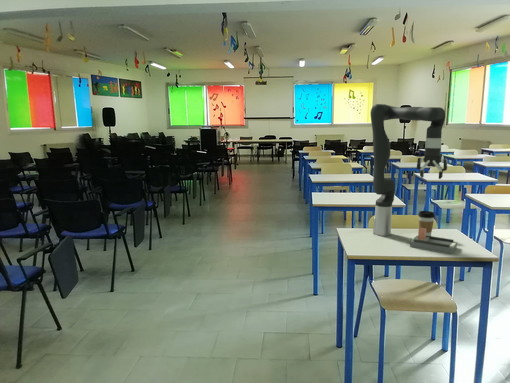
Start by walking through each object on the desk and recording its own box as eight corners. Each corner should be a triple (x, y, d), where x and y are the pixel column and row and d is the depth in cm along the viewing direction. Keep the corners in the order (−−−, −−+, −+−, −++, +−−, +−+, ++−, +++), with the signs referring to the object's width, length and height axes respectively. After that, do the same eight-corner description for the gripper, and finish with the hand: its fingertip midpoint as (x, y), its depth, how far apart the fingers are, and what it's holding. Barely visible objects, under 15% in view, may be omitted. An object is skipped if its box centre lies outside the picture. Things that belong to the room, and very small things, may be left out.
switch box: (410, 246, 204) (410, 239, 203) (416, 241, 213) (416, 233, 212) (451, 254, 192) (452, 246, 191) (456, 247, 201) (457, 239, 200)
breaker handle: (414, 240, 204) (414, 229, 203) (417, 236, 210) (418, 226, 209) (426, 242, 201) (426, 231, 200) (429, 238, 206) (430, 228, 205)
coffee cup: (425, 240, 214) (426, 214, 212) (413, 236, 222) (415, 210, 219) (436, 238, 217) (438, 212, 215) (424, 234, 225) (426, 209, 222)
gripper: (416, 147, 199) (414, 178, 202) (446, 147, 190) (444, 180, 193) (420, 146, 205) (418, 176, 208) (449, 146, 196) (447, 178, 199)
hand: (430, 178), depth 201 cm, fingers open, 8 cm apart
